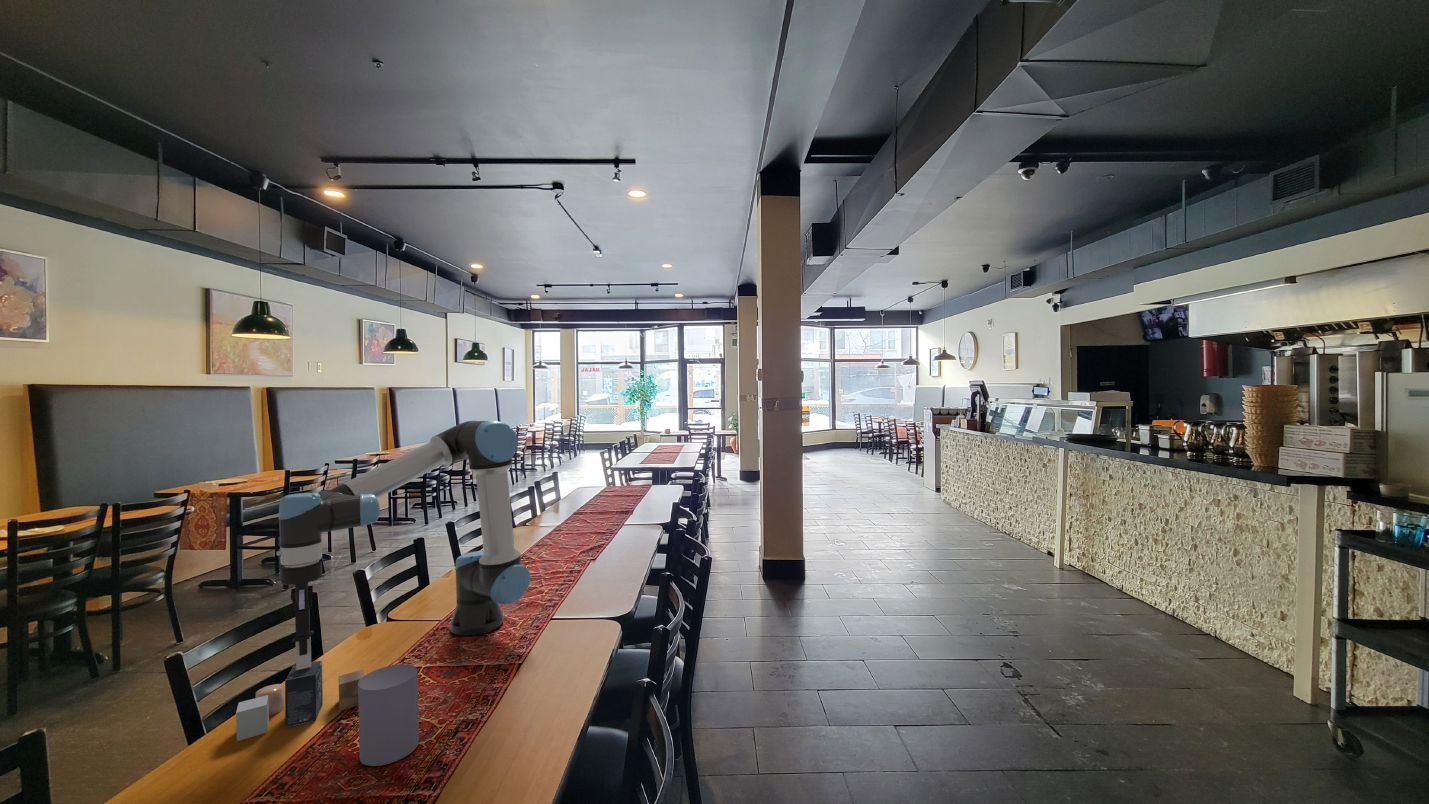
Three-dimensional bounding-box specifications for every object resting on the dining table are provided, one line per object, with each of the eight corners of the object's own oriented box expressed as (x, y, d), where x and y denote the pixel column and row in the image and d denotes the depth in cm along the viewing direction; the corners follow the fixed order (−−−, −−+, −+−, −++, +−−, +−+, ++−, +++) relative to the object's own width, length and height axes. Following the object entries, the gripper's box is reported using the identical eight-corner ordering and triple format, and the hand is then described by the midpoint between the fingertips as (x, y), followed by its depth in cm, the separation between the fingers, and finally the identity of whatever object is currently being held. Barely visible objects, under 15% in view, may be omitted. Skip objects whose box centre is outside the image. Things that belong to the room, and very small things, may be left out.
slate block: (268, 721, 122) (268, 694, 122) (267, 732, 118) (266, 704, 118) (239, 730, 119) (238, 702, 119) (236, 741, 115) (236, 712, 115)
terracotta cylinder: (288, 704, 129) (288, 682, 129) (276, 716, 124) (275, 694, 124) (264, 706, 128) (264, 685, 128) (251, 718, 124) (250, 696, 123)
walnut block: (364, 694, 133) (363, 669, 133) (365, 703, 129) (364, 677, 129) (339, 701, 130) (338, 676, 130) (339, 710, 126) (339, 684, 126)
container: (404, 765, 106) (402, 688, 106) (348, 769, 106) (346, 691, 105) (427, 733, 117) (426, 662, 117) (376, 736, 116) (375, 665, 116)
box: (316, 721, 122) (315, 673, 122) (284, 728, 119) (283, 680, 119) (323, 704, 129) (322, 659, 129) (293, 710, 127) (292, 664, 126)
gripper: (281, 559, 127) (284, 661, 127) (278, 573, 117) (281, 684, 117) (321, 553, 132) (323, 652, 132) (322, 566, 121) (324, 673, 121)
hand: (303, 667), depth 124 cm, fingers closed
